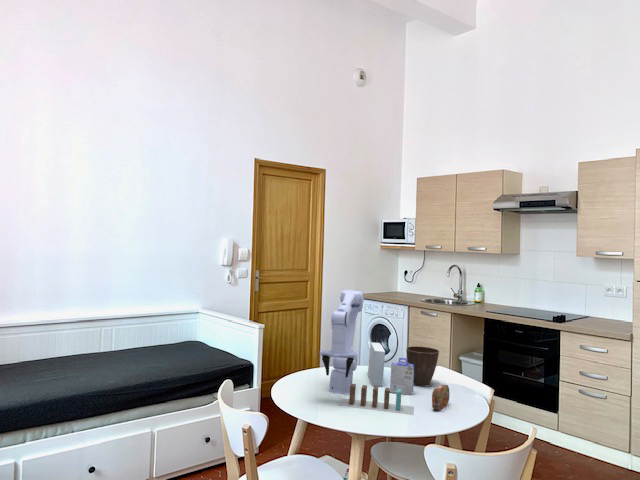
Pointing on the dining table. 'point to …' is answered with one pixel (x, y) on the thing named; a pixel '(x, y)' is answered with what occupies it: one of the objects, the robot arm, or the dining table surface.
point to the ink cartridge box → (402, 377)
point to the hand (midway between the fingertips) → (337, 375)
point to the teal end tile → (398, 399)
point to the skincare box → (376, 364)
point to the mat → (379, 407)
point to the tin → (440, 397)
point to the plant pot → (422, 363)
